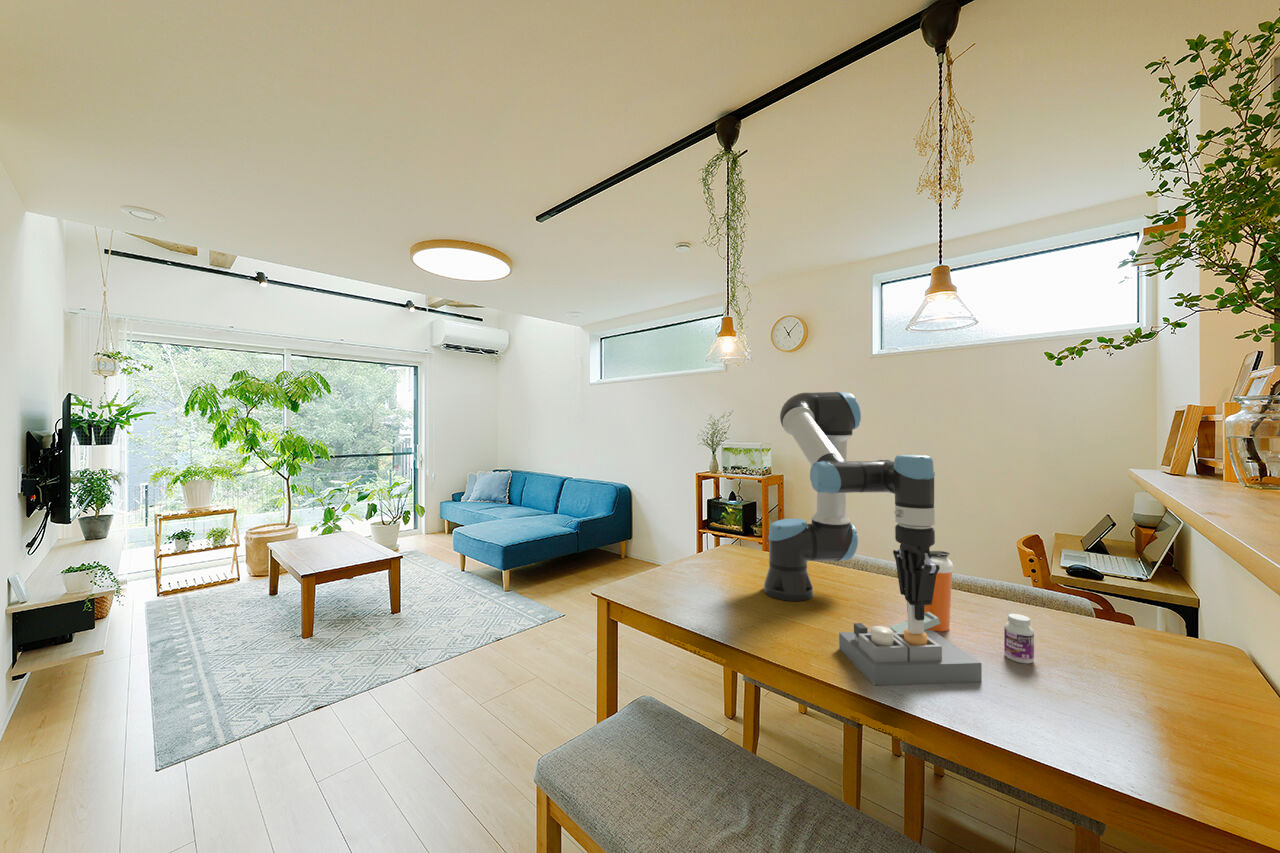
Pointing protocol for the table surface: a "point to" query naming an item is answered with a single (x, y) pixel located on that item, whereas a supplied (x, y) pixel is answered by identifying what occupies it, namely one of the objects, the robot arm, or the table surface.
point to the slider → (859, 629)
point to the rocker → (929, 622)
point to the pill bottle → (1019, 639)
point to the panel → (910, 660)
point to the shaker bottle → (941, 591)
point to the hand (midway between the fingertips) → (915, 632)
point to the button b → (915, 638)
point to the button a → (882, 636)
